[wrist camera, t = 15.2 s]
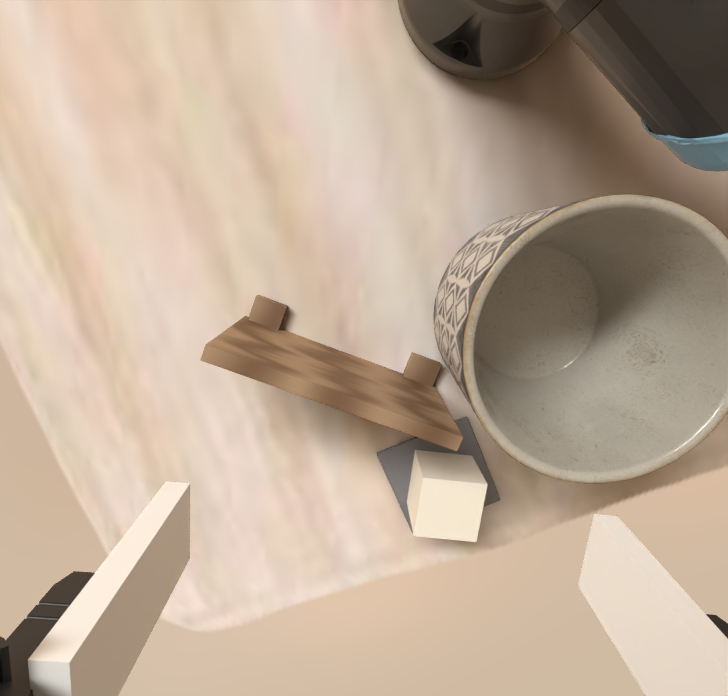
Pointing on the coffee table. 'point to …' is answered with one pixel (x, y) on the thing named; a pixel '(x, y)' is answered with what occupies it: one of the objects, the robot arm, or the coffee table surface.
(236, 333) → the walnut screen
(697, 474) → the coffee table surface
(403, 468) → the mat
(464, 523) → the cream cube
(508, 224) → the planter
